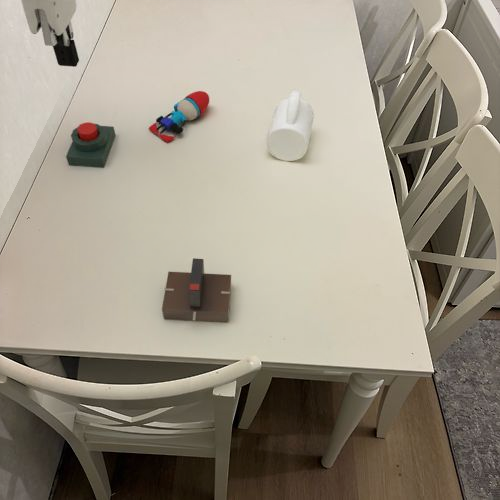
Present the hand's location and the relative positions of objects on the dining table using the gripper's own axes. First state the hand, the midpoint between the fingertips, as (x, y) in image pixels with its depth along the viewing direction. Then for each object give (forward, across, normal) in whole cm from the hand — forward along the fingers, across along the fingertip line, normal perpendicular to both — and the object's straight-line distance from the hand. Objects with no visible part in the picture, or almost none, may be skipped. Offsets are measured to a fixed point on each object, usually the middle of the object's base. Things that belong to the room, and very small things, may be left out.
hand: (69, 63), depth 83 cm
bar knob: (+16, +34, +26) cm, 46 cm away
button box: (+19, 0, 0) cm, 19 cm away
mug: (+19, -6, +40) cm, 45 cm away
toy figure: (+19, -11, +17) cm, 28 cm away
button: (+15, 0, 0) cm, 15 cm away
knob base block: (+19, +34, +26) cm, 47 cm away
